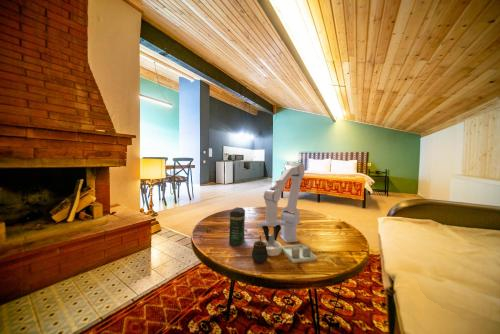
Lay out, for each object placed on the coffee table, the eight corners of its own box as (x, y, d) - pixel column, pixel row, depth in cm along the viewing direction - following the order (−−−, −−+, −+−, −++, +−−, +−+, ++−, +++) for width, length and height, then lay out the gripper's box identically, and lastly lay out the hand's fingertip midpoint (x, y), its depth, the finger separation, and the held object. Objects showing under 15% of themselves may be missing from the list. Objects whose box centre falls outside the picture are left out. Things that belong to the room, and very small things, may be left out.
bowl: (258, 246, 97) (258, 241, 97) (276, 244, 100) (276, 239, 100) (264, 256, 88) (264, 250, 88) (284, 254, 90) (284, 248, 90)
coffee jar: (241, 246, 97) (242, 211, 96) (227, 245, 99) (227, 210, 98) (246, 238, 107) (246, 206, 106) (232, 237, 108) (233, 205, 108)
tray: (280, 249, 95) (281, 246, 95) (302, 247, 98) (302, 244, 98) (292, 263, 82) (292, 260, 82) (316, 260, 85) (316, 256, 85)
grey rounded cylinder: (266, 241, 95) (266, 234, 94) (272, 241, 96) (273, 233, 95) (269, 245, 91) (269, 237, 91) (275, 244, 92) (276, 236, 92)
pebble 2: (300, 254, 89) (301, 246, 89) (307, 253, 90) (307, 245, 90) (304, 258, 86) (305, 249, 86) (311, 257, 87) (312, 249, 86)
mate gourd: (252, 265, 80) (252, 242, 80) (250, 256, 88) (250, 235, 88) (269, 264, 81) (269, 242, 81) (265, 256, 89) (266, 235, 88)
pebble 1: (290, 255, 88) (290, 247, 88) (297, 254, 89) (297, 246, 89) (293, 259, 84) (293, 251, 84) (300, 258, 85) (301, 250, 85)
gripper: (259, 216, 87) (259, 245, 88) (288, 215, 91) (287, 242, 91) (255, 212, 94) (255, 238, 95) (282, 211, 97) (281, 236, 98)
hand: (270, 240), depth 94 cm, fingers closed on grey rounded cylinder, 4 cm apart
